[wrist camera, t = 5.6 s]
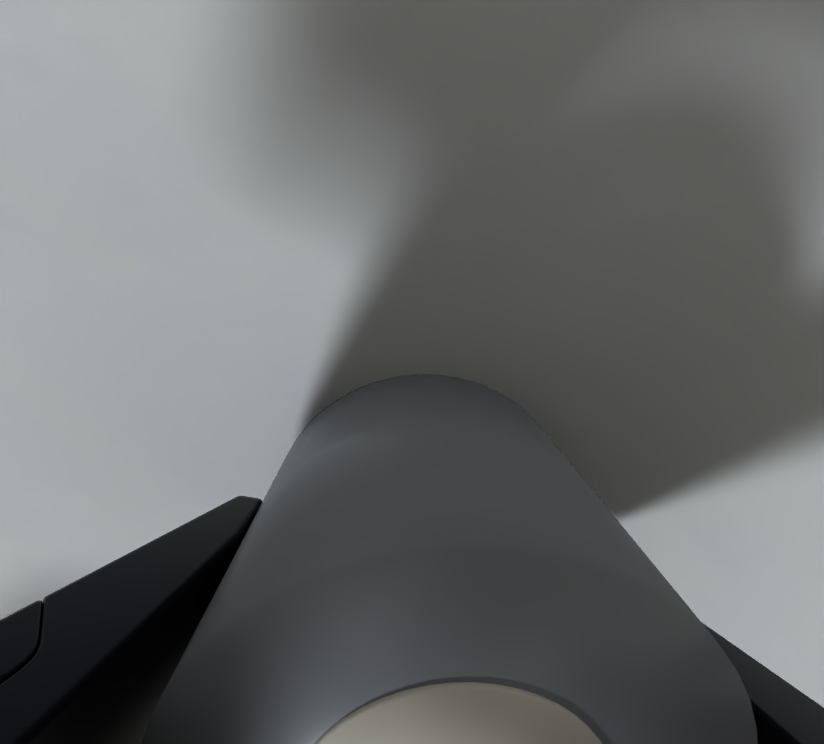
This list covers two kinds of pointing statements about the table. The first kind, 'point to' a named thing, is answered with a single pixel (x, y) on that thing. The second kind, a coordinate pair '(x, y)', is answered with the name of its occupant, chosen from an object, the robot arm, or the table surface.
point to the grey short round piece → (444, 597)
